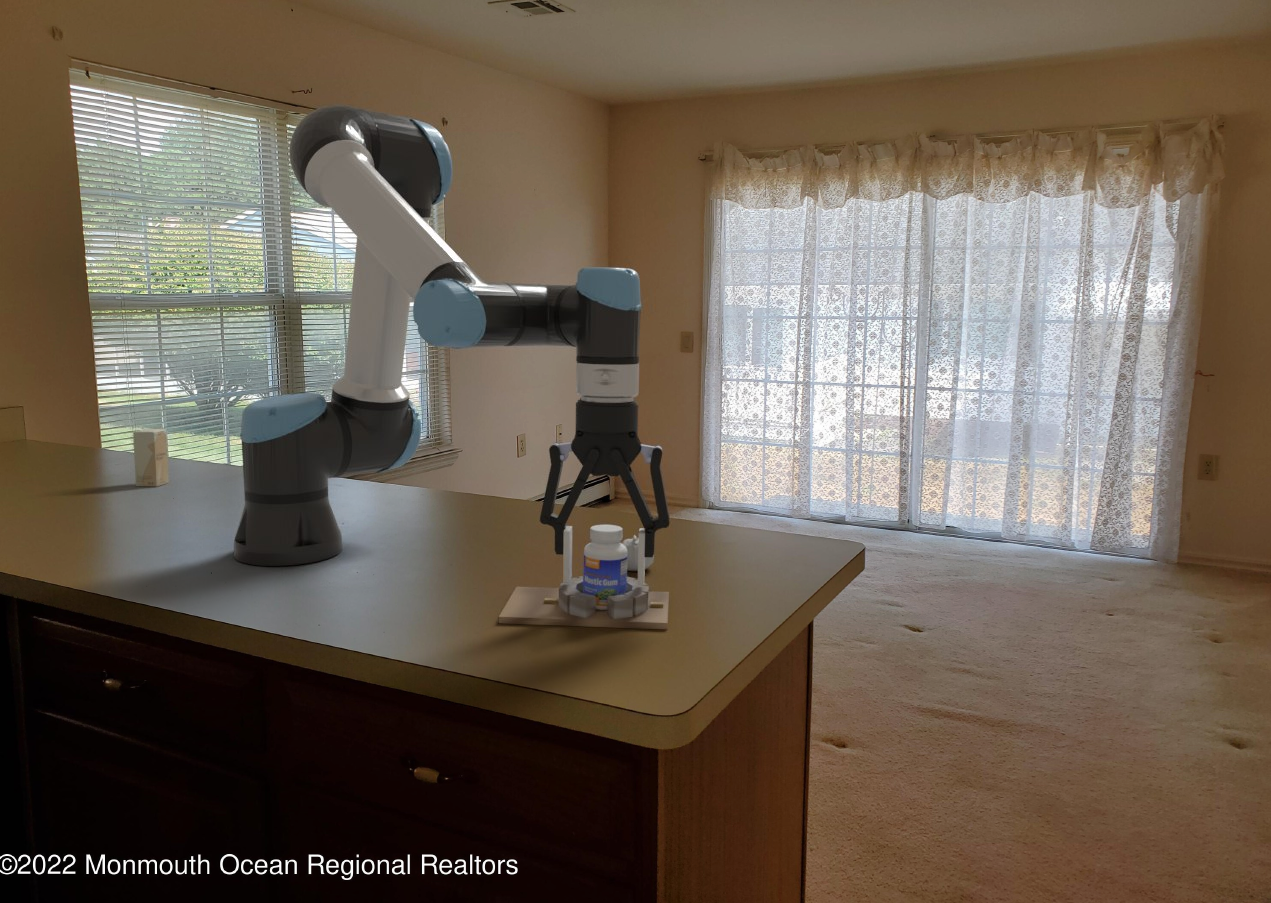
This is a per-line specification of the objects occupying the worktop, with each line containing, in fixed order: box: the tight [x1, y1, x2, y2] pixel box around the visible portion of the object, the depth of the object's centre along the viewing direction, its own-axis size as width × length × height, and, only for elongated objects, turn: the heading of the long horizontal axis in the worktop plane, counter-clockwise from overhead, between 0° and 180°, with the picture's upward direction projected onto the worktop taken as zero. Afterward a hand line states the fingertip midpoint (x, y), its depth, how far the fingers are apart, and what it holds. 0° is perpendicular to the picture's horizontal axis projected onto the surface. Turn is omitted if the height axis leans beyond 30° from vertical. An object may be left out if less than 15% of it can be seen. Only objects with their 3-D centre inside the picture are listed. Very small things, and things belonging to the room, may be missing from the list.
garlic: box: [621, 534, 655, 572], centre depth 133 cm, size 6×5×5 cm
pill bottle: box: [582, 524, 628, 610], centre depth 114 cm, size 5×5×10 cm
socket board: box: [498, 575, 670, 630], centre depth 115 cm, size 20×12×3 cm, turn 87°
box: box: [132, 428, 170, 487], centre depth 185 cm, size 5×4×11 cm
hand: (604, 580), depth 114 cm, fingers open, 8 cm apart
